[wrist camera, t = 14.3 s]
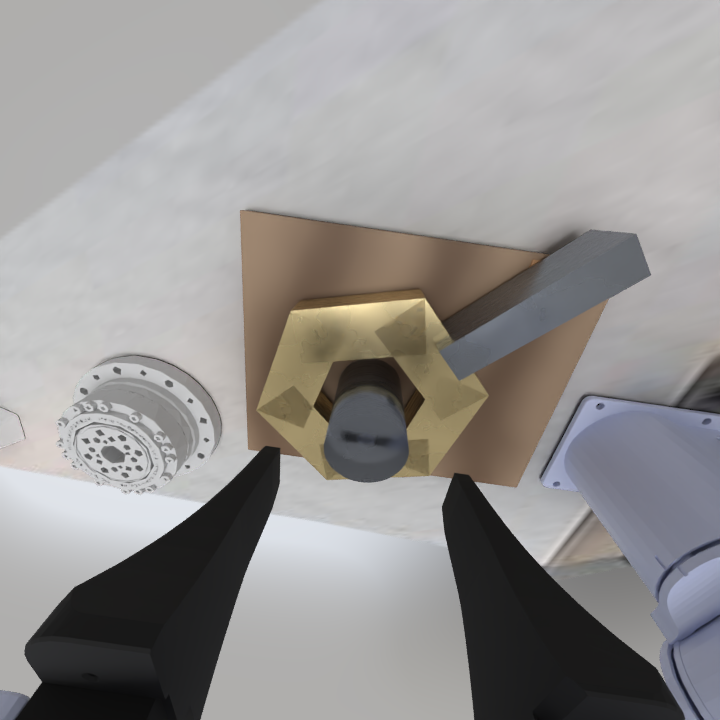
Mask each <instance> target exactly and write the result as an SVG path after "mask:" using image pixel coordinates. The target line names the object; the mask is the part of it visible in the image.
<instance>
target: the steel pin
mask: <svg viewBox="0 0 720 720" xmlns="http://www.w3.org/2000/svg"><path fill="white" fill-rule="evenodd" d="M324 454H325V458H326V460H327V462H328V463H329V465H330V466H331V467H332V468H333V469H334V470H335V471H336V472H337V473H338V474H340V475H342V476H343V477H345V478H348V479H350V480H353V481H358V482H378V481H382V480H385V479H388V478H390V477H392V476H394V475H395V474H397V473H398V472H399V471H400V470H401V469H402V468H403V467H404V465H405V464H406V461H407V459H408V455H409V446H408V438H407V430H406V422H405V414H404V406H403V398H402V390H401V382H400V378H399V376H398V374H397V372H396V371H395V369H394V368H393V367H392V366H391V365H389V364H388V363H386V362H384V361H382V360H379V359H374V358H373V359H360V360H356V361H354V362H352V363H351V364H349V365H348V366H347V367H346V368H345V369H344V370H343V371H342V373H341V375H340V378H339V382H338V386H337V390H336V395H335V399H334V403H333V407H332V412H331V416H330V420H329V425H328V429H327V433H326V437H325V442H324Z"/></svg>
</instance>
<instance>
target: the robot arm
mask: <svg viewBox="0 0 720 720" xmlns="http://www.w3.org/2000/svg"><path fill="white" fill-rule="evenodd" d="M599 403H600V405H598V406H596V405H597V404H599ZM541 483H542V484H543V486H544V487H548V488H555V489H562V490H569V491H576V492H580V493H581V495H582V496H583V498H584V499H585V500H586V502H587V503H588V505H589V506H590V507H591V509H592V510H593V512H594V513H595V514H596V516H597V517H598V519H599V520H600V522H601V523H602V524H603V526H604V527H605V529H606V530H607V531H608V533H609V534H610V536H611V537H612V538H613V540H614V541H615V543H616V544H617V545H618V547H619V548H620V550H621V551H622V553H623V554H624V555H625V557H626V558H627V560H628V561H629V562H630V564H631V565H632V567H633V568H634V569H635V571H636V572H637V574H638V575H639V576H640V578H641V579H642V581H643V582H644V583H645V585H646V586H647V588H648V589H649V591H650V592H651V593H652V595H653V596H654V598H655V599H656V600H657V602H658V603H659V604H658V606H657V608H656V609H655V610H654V611H653V612H652V613H651V614H650V615H651V617H652V618H653V620H654V621H655V622H656V624H657V626H658V627H659V629H660V630H661V632H662V633H663V635H664V636H665V638H666V639H667V640H666V641H665V642H664V643H663V644H662V647H661V649H660V663H661V669H662V672H663V675H664V678H665V681H666V683H665V681H664V680H663V678H662V676H661V675H660V673H659V672H658V670H657V669H656V668H655V667H654V666H653V665H651V664H650V663H649V662H648V661H647V660H645V659H644V658H643V657H641V656H640V655H639V654H638V653H636V652H635V651H634V650H632V649H631V648H630V647H629V646H627V645H626V644H625V643H624V642H622V641H621V640H620V639H619V638H617V637H616V636H615V635H614V634H612V633H611V632H610V631H609V630H608V629H607V628H606V627H604V626H603V625H602V624H601V623H600V622H599V621H598V620H596V619H595V618H594V617H593V616H592V615H590V614H589V613H588V612H587V611H586V610H585V609H584V608H583V607H582V606H581V605H579V604H578V603H577V602H576V601H575V600H574V599H573V598H572V597H571V596H570V595H569V594H568V593H567V592H566V591H565V590H564V589H563V588H562V587H561V586H560V585H559V584H558V583H557V582H556V581H555V580H554V579H553V578H552V577H551V576H550V575H549V574H548V573H547V572H546V571H545V570H544V569H543V568H542V567H541V566H540V565H539V564H538V563H537V562H536V560H535V559H534V558H533V557H532V556H531V555H530V554H529V553H528V552H527V550H526V549H525V548H524V547H523V546H522V545H521V543H520V542H519V541H518V540H517V539H516V537H515V536H514V535H513V534H512V533H511V531H510V530H509V529H508V527H507V526H506V525H505V524H504V522H503V521H502V520H501V518H500V517H499V516H498V514H497V513H496V512H495V510H494V509H493V508H492V506H491V505H490V504H489V502H488V501H487V499H486V498H485V497H484V495H483V494H482V492H481V491H480V490H479V488H478V487H477V485H476V484H475V482H474V481H473V480H472V478H471V477H470V476H469V475H467V474H460V473H454V475H453V478H452V480H451V483H450V486H449V489H448V492H447V494H446V497H445V500H444V503H443V506H442V512H443V522H444V531H445V536H446V541H447V545H448V550H449V554H450V559H451V563H452V567H453V572H454V576H455V581H456V585H457V589H458V593H459V599H460V604H461V610H462V617H463V624H464V631H465V638H466V646H467V655H468V663H469V671H470V681H471V690H472V700H473V710H474V720H720V414H715V413H708V412H701V411H694V410H688V409H681V408H674V407H667V406H660V405H653V404H646V403H639V402H632V401H625V400H618V399H611V398H604V397H597V396H588V397H586V398H584V399H583V400H582V402H581V404H580V406H579V408H578V409H577V411H576V413H575V415H574V417H573V419H572V421H571V423H570V425H569V427H568V428H567V430H566V432H565V434H564V436H563V438H562V440H561V442H560V444H559V445H558V447H557V449H556V451H555V453H554V455H553V457H552V459H551V461H550V463H549V464H548V466H547V468H546V470H545V472H544V474H543V476H542V478H541ZM279 484H280V448H278V447H271V446H265V447H263V448H262V449H261V450H260V452H259V453H258V454H257V455H256V456H255V457H254V458H253V459H252V460H251V461H250V463H249V464H248V465H247V466H246V467H245V468H244V469H243V470H242V471H241V472H240V473H239V474H238V475H237V476H236V477H235V478H234V479H233V480H232V481H231V482H230V483H229V484H227V485H226V486H225V487H224V488H223V489H222V490H221V491H220V492H219V493H217V494H216V495H215V496H214V497H213V498H212V499H211V500H210V501H208V502H207V503H206V504H205V505H204V506H202V507H201V508H200V509H199V510H197V511H196V512H195V513H194V514H192V515H191V516H190V517H189V518H187V519H186V520H185V521H183V522H182V523H180V524H179V525H178V526H176V527H175V528H173V529H172V530H171V531H169V532H168V533H167V534H165V535H163V536H162V537H161V538H159V539H157V540H156V541H154V542H153V543H151V544H150V545H148V546H146V547H145V548H143V549H142V550H140V551H139V552H137V553H135V554H134V555H132V556H130V557H129V558H127V559H125V560H124V561H122V562H120V563H119V564H117V565H115V566H113V567H112V568H110V569H108V570H106V571H104V572H102V573H100V574H98V575H97V576H95V577H93V578H91V579H89V580H87V581H86V582H84V583H82V584H80V585H78V586H76V587H74V588H73V590H71V592H70V593H69V594H68V595H67V596H66V597H65V598H64V599H63V600H62V601H61V602H60V603H59V605H58V606H57V607H56V608H55V609H54V610H53V612H52V613H51V614H50V615H49V617H48V618H47V619H46V620H45V622H44V623H43V624H42V625H41V626H40V628H39V629H38V630H37V632H36V633H35V634H34V635H33V636H32V637H31V639H30V640H29V641H28V642H27V644H26V646H25V656H26V659H27V661H28V662H29V664H30V665H31V667H32V668H33V669H34V671H35V672H36V674H37V675H38V677H39V678H40V679H41V681H42V683H41V685H40V686H39V687H38V689H37V690H36V692H35V693H34V694H33V696H32V697H31V698H29V697H28V696H25V695H23V694H20V693H16V692H10V691H3V690H0V720H200V719H201V715H202V712H203V708H204V704H205V701H206V698H207V694H208V691H209V687H210V684H211V681H212V677H213V674H214V670H215V667H216V663H217V660H218V657H219V654H220V650H221V647H222V644H223V640H224V637H225V634H226V631H227V628H228V625H229V621H230V618H231V615H232V612H233V609H234V605H235V602H236V599H237V596H238V593H239V590H240V587H241V584H242V581H243V578H244V575H245V572H246V570H247V567H248V565H249V562H250V560H251V557H252V555H253V553H254V551H255V548H256V546H257V543H258V541H259V539H260V536H261V534H262V532H263V529H264V527H265V525H266V522H267V520H268V517H269V515H270V513H271V510H272V507H273V504H274V501H275V498H276V494H277V491H278V488H279ZM666 684H667V685H666Z"/></svg>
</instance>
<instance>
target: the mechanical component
mask: <svg viewBox="0 0 720 720" xmlns="http://www.w3.org/2000/svg"><path fill="white" fill-rule="evenodd" d="M73 403H74V405H72V406H70V407H69V408H68V409H67V410H66V411H64V412H63V415H62V418H61V419H59V420H57V421H56V422H55V423H56V425H57V426H58V431H59V436H60V440H59V441H57V442H56V445H57V447H59V448H62V449H65V451H64V452H63V453H62V456H63V458H65V459H67V460H68V459H72V460H73V462H72V463H71V465H70V466H71V467H72V468H73V469H76V470H78V469H79V468H80V469H81V470H82V471H83V472H85V473H86V474H88V475H89V476H91V477H92V478H94V479H95V481H94V482H95V484H96V485H98V486H102V485H103V484H104V483H105V484H107V485H110V486H113V487H116V488H119V489H121V491H122V492H123V493H124V494H129V493H130V492H131V491H134V493H136V494H139V495H141V494H142V493H143V492H144V491H147V492H148V493H153V492H154V491H155V489H157V488H161V487H162V486H164V485H165V484H167V483H168V482H169V481H170V480H171V479H172V478H173V477H174V476H179V475H183V474H187V473H190V472H193V471H194V470H196V469H198V468H199V467H201V466H202V465H204V464H205V463H206V461H207V460H208V458H209V457H210V456H211V454H212V453H213V451H214V450H215V448H216V447H217V445H218V442H219V439H220V436H221V422H220V416H219V413H218V411H217V409H216V407H215V405H214V403H213V401H212V399H211V397H210V396H209V395H208V394H207V393H206V391H205V390H204V389H203V388H202V387H201V386H200V384H198V383H197V382H196V381H195V380H194V379H192V378H191V377H190V376H189V375H188V374H186V373H184V372H183V371H181V370H179V369H178V368H176V367H174V366H172V365H170V364H167V363H165V362H162V361H160V360H157V359H152V358H146V357H141V356H136V355H134V356H126V357H119V358H113V359H111V360H108V361H106V362H104V363H102V364H100V365H98V366H96V367H94V368H93V369H92V370H90V371H89V372H88V373H86V374H85V375H84V376H83V377H82V378H81V379H80V381H79V382H78V384H77V385H76V388H75V392H74V396H73Z"/></svg>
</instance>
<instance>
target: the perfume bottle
mask: <svg viewBox="0 0 720 720" xmlns="http://www.w3.org/2000/svg"><path fill="white" fill-rule="evenodd" d="M24 439H25V436H24V433H23V430H22V426H21V423H20V420H19V417H18V416H17V415H16V414H14V413H12V412H9V411H7V410H5V409H3V408H0V449H1V448H4V447H6V446H9V445H11V444H14V443H16V442H19V441H21V440H24Z"/></svg>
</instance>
